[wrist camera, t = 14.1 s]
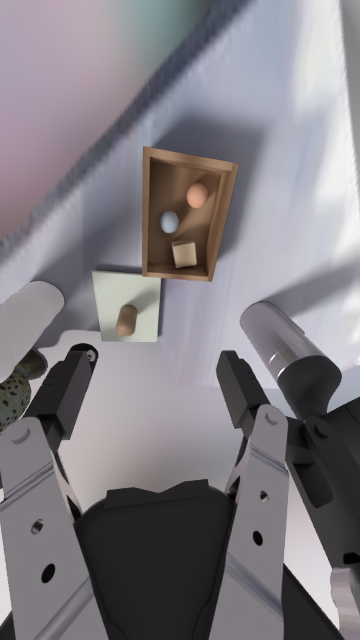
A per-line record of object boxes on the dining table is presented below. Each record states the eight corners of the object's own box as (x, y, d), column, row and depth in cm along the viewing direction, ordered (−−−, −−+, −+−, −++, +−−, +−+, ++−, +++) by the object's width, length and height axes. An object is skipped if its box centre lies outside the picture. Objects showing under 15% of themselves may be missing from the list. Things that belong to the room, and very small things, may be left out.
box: (224, 168, 28) (239, 163, 24) (204, 269, 37) (211, 281, 33) (145, 154, 27) (143, 146, 22) (143, 264, 35) (142, 276, 31)
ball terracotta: (207, 184, 29) (212, 184, 26) (203, 208, 31) (207, 210, 28) (187, 181, 28) (190, 180, 26) (184, 206, 30) (187, 207, 28)
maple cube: (191, 238, 33) (194, 242, 30) (193, 258, 35) (196, 264, 32) (171, 241, 33) (172, 246, 30) (174, 261, 35) (176, 267, 32)
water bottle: (31, 272, 34) (-152, 395, 14) (71, 292, 37) (-31, 418, 17) (20, 300, 37) (-147, 437, 16) (58, 316, 40) (-43, 449, 19)
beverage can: (70, 339, 43) (46, 382, 34) (100, 343, 45) (85, 386, 35) (70, 358, 47) (48, 403, 37) (98, 362, 49) (84, 405, 39)
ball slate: (178, 211, 31) (181, 213, 28) (176, 232, 32) (178, 235, 30) (159, 208, 30) (159, 210, 27) (158, 230, 32) (158, 233, 29)
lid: (160, 273, 37) (162, 290, 31) (156, 337, 46) (157, 360, 40) (94, 268, 35) (81, 285, 29) (103, 336, 44) (95, 360, 38)
